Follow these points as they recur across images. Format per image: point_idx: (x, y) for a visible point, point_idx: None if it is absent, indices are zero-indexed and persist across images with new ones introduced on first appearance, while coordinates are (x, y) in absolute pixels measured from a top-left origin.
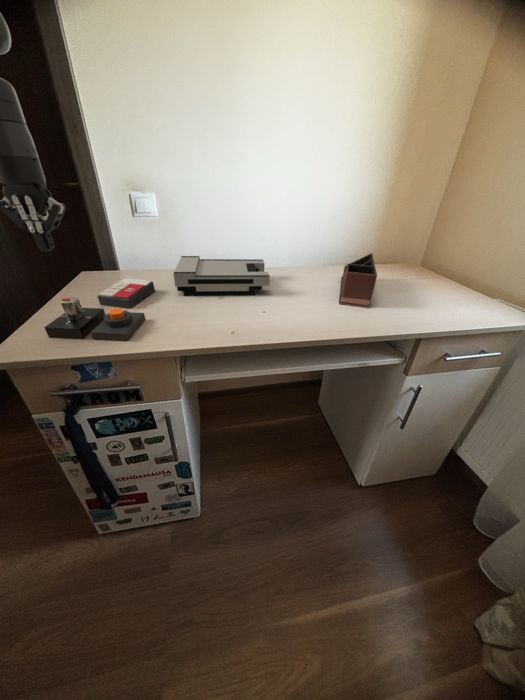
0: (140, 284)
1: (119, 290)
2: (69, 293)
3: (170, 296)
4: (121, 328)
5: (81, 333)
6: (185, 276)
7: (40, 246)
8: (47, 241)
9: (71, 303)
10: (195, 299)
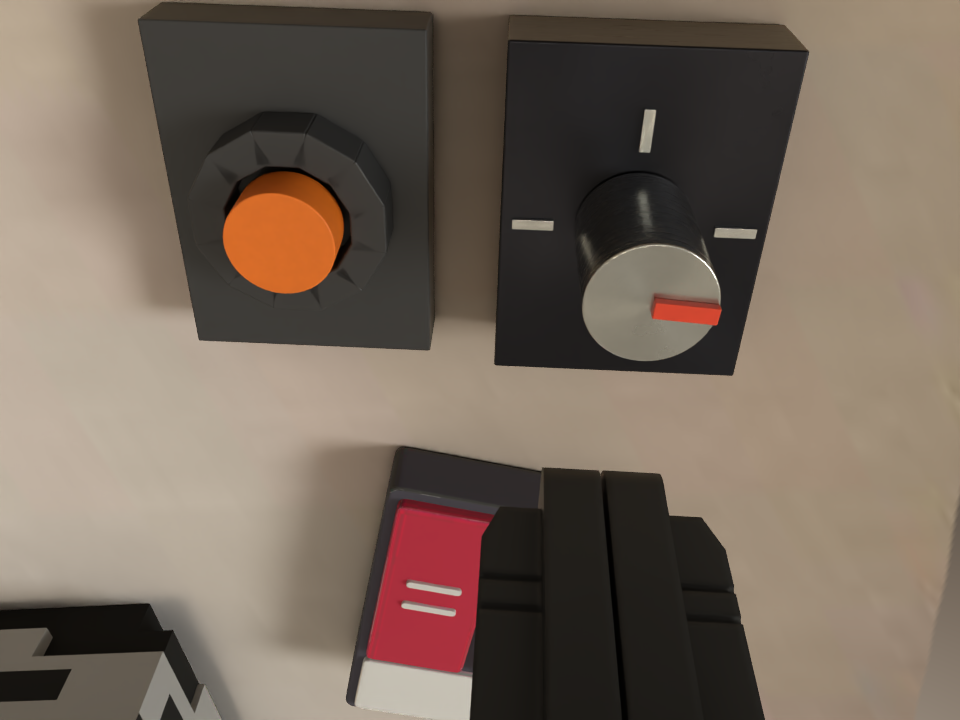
0: (402, 667)
1: None
2: (895, 612)
3: (229, 595)
4: (222, 102)
5: (509, 30)
6: (59, 717)
7: (638, 520)
8: (494, 608)
9: (610, 254)
10: (51, 566)
